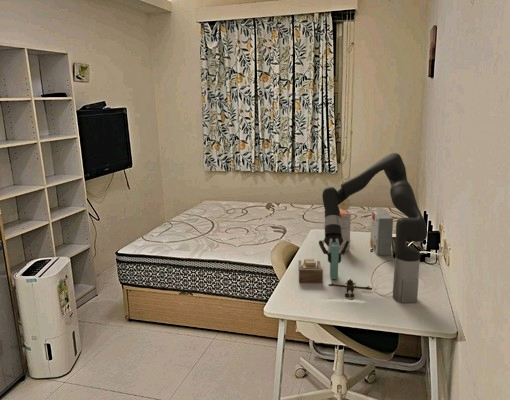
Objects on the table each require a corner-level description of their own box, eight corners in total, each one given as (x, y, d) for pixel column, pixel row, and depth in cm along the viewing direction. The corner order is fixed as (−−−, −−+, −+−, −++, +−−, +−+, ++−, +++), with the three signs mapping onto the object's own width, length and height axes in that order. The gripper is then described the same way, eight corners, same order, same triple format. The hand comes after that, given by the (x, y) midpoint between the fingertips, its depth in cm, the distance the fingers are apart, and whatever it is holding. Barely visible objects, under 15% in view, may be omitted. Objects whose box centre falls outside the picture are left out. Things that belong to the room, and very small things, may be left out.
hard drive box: (369, 245, 234) (371, 210, 229) (383, 245, 233) (385, 210, 229) (376, 255, 218) (378, 218, 214) (391, 255, 218) (394, 218, 214)
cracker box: (327, 244, 236) (328, 207, 231) (337, 243, 237) (338, 207, 233) (339, 253, 223) (340, 214, 218) (349, 251, 224) (351, 213, 220)
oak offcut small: (315, 266, 195) (315, 262, 195) (305, 267, 195) (305, 262, 195) (313, 262, 200) (313, 258, 200) (304, 262, 200) (304, 258, 200)
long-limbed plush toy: (326, 291, 172) (329, 274, 185) (326, 301, 173) (329, 283, 187) (373, 295, 168) (372, 277, 181) (372, 305, 169) (371, 286, 183)
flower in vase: (324, 238, 245) (325, 196, 240) (337, 234, 252) (338, 193, 247) (342, 244, 235) (344, 200, 230) (355, 240, 243) (357, 197, 237)
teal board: (337, 279, 186) (338, 246, 183) (330, 279, 187) (331, 246, 183) (336, 273, 192) (337, 242, 189) (329, 273, 193) (330, 242, 189)
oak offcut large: (316, 273, 195) (316, 268, 194) (303, 272, 195) (303, 267, 194) (315, 267, 201) (315, 262, 201) (302, 267, 202) (303, 262, 201)
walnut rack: (322, 285, 184) (322, 270, 182) (299, 284, 185) (299, 269, 183) (319, 267, 203) (320, 253, 202) (298, 267, 204) (298, 253, 203)
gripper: (347, 231, 197) (350, 266, 188) (317, 230, 198) (317, 265, 190) (349, 223, 191) (352, 259, 182) (317, 223, 192) (318, 258, 183)
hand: (334, 262), depth 186 cm, fingers closed on teal board, 3 cm apart
